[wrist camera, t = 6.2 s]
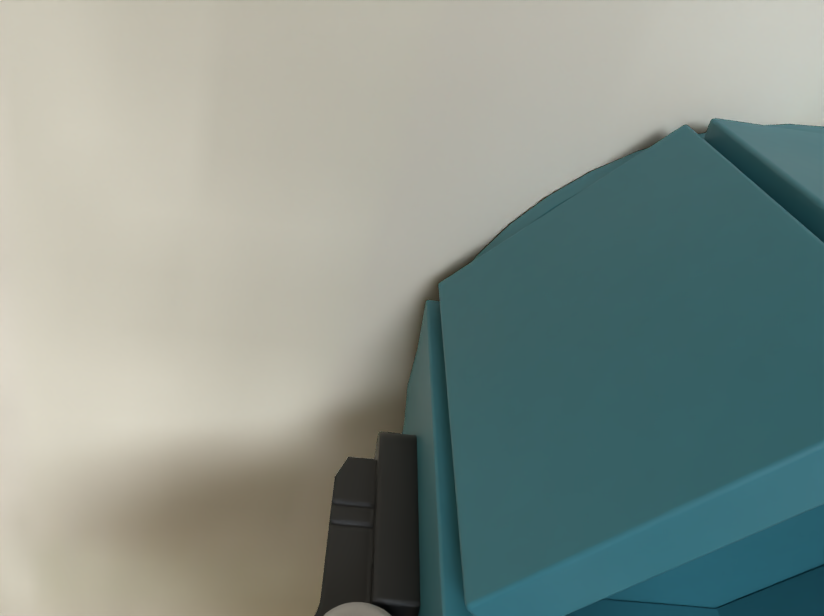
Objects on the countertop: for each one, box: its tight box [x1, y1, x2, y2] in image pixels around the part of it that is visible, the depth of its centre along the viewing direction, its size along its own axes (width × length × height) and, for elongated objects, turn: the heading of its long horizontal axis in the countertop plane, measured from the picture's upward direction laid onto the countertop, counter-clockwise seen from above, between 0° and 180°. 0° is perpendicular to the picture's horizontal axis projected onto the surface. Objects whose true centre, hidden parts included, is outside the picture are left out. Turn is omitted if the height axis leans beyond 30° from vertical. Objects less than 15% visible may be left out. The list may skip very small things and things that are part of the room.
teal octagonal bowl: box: [402, 118, 824, 616], centre depth 13 cm, size 14×14×8 cm
